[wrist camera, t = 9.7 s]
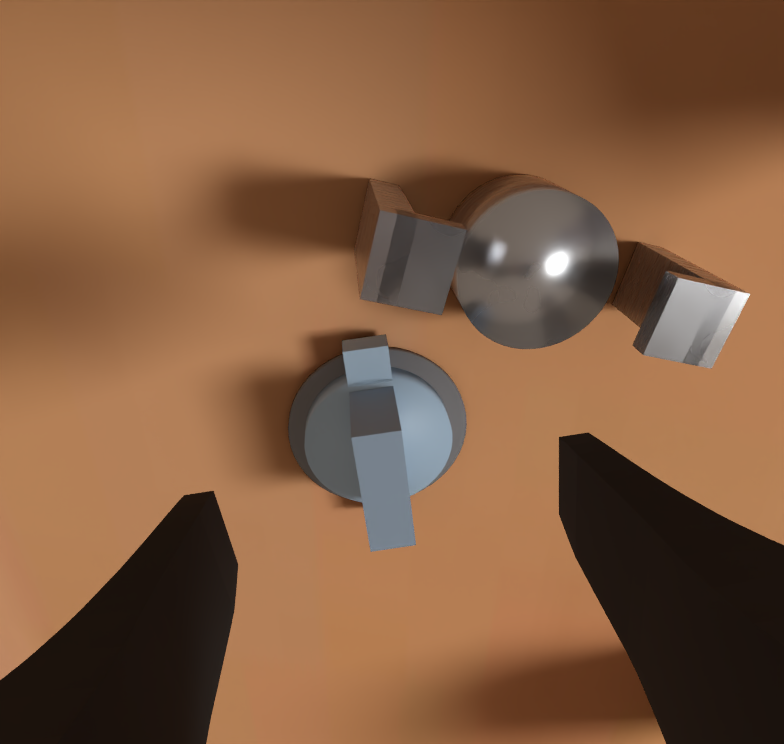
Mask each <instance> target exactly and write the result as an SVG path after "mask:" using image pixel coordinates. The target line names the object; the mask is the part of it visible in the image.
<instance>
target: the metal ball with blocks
mask: <svg viewBox="0 0 784 744" xmlns="http://www.w3.org/2000/svg"><path fill="white" fill-rule="evenodd" d="M354 252H355V261H356V269H357V278H358V286H359V295H360V299H363V300H368V301H373V302H378V303H383V304H388V305H393V306H398V307H403V308H408V309H413V310H418V311H423V312H428V313H433V314H438V315H442V313H443V309H444V306H445V303H446V299H447V296H448V292H449V289H450V286H451V288H452V290H453V292H454V293H455V295H456V297H457V299H458V301H459V303H460V304H461V306H462V308H463V310H464V312H465V314H466V315H467V317H468V318H469V320H470V321H471V323H472V324H473V325H474V326H475V327H476V329H477V330H478V331H479V332H481V333H482V334H483V335H484V336H486V337H487V338H489V339H491V340H492V341H494V342H496V343H499V344H501V345H504V346H508V347H512V348H518V349H536V348H543V347H547V346H551V345H554V344H557V343H560V342H562V341H564V340H566V339H568V338H570V337H572V336H573V335H575V334H576V333H578V332H580V331H581V330H582V329H583V328H585V327H586V326H587V325H588V324H589V323H590V322H591V321H592V320H593V319H594V318H595V317H596V316H597V315H598V313H599V312H600V311H601V310H602V308H603V307H604V305H605V303H606V302H607V300H608V298H609V296H610V294H611V292H612V290H613V287H614V284H615V281H616V277H617V272H618V263H619V255H618V246H617V241H616V237H615V235H614V232H613V229H612V227H611V225H610V224H609V222H608V220H607V219H606V218H605V216H604V215H603V214H602V213H601V212H600V211H599V210H598V209H597V208H596V207H595V206H594V205H593V204H591V203H590V202H588V201H587V200H585V199H583V198H581V197H579V196H577V195H575V194H573V193H571V192H569V191H567V190H565V189H563V188H561V187H559V186H557V185H555V184H553V183H551V182H550V181H548V180H546V179H543V178H540V177H537V176H531V175H520V174H517V175H507V176H503V177H499V178H496V179H494V180H491V181H489V182H487V183H485V184H483V185H481V186H480V187H478V188H477V189H475V190H474V191H473V192H471V193H470V194H469V195H468V196H467V197H466V198H465V199H464V200H463V201H462V202H461V203H460V205H459V206H458V207H457V208H456V210H455V211H454V213H453V215H452V216H451V218H450V220H449V221H448V220H443V219H439V218H435V217H430V216H426V215H421V214H417V213H415V212H414V210H413V209H412V207H411V205H410V203H409V202H408V200H407V198H406V197H405V195H404V193H403V191H402V190H401V188H400V186H399V185H395V184H390V183H386V182H382V181H378V180H373V179H369V183H368V188H367V192H366V197H365V202H364V206H363V211H362V216H361V220H360V225H359V230H358V234H357V239H356V244H355V248H354ZM749 295H750V294H749V293H747V292H745V291H743V290H742V289H740V288H738V287H736V286H734V285H732V284H730V283H728V282H727V281H725V280H723V279H721V278H719V277H717V276H715V275H713V274H711V273H710V272H708V271H706V270H704V269H702V268H700V267H698V266H696V265H695V264H693V263H691V262H689V261H687V260H685V259H683V258H681V257H680V256H678V255H676V254H674V253H672V252H670V251H668V250H666V249H664V248H662V247H657V246H653V245H649V244H645V243H640V242H638V244H637V247H636V249H635V251H634V254H633V256H632V258H631V261H630V263H629V266H628V268H627V270H626V273H625V275H624V278H623V280H622V282H621V285H620V287H619V289H618V292H617V294H616V297H615V299H614V301H613V304H612V305H613V306H615V307H616V308H617V309H618V310H619V311H621V312H622V313H623V314H624V315H625V316H627V317H628V318H629V319H630V320H631V321H633V322H634V323H635V324H636V325H637V326H639V327H640V330H639V332H638V334H637V336H636V339H635V341H634V343H633V346H634V347H635V348H636V349H637V350H638V351H639V352H640V353H641V354H643V355H646V356H651V357H656V358H661V359H666V360H671V361H676V362H681V363H686V364H691V365H696V366H701V367H706V368H712V366H713V364H714V363H715V361H716V359H717V357H718V355H719V353H720V351H721V349H722V347H723V345H724V343H725V341H726V339H727V338H728V336H729V334H730V332H731V330H732V328H733V326H734V324H735V322H736V320H737V318H738V316H739V314H740V313H741V311H742V309H743V307H744V305H745V303H746V301H747V299H748V297H749Z"/></svg>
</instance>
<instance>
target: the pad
mask: <svg viewBox="0 0 784 744" xmlns="http://www.w3.org/2000/svg"><path fill="white" fill-rule="evenodd" d="M388 349H389V357H390V365H391V367H394V368H399V369H403V370H406V371H409V372H411V373H413V374H415V375H417V376H419V377H421V378H422V379H424V380H425V381H426V382H427V383H429V384H430V385H431V386H432V387H433V388H434V389H435V390H436V392H437V393H438V395H439V396H440V397H441V399H442V401H443V403H444V406H445V409H446V412H447V415H448V418H449V421H450V424H451V428H452V448H451V452H450V455H449V458H448V460H447V463H446V465H445V466H444V468H443V469H442V471H441V472H440V474H439V475H438V476H437V477H436V478H435V479H434V480H433V481H432V482H431V483H430V484H429V485H428V486H430V485H431V484H433V483H434V482H435V481H436V480H438V479H439V478H440V477H441V476H442V475H443V474H444V473H445V472H446V471H447V470H448V469H449V468H450V466H451V465H452V464H453V463H454V461H455V459H456V458H457V456H458V454H459V452H460V450H461V447H462V445H463V442H464V438H465V433H466V412H465V407H464V404H463V401H462V398H461V395H460V393H459V391H458V389H457V387H456V385H455V384H454V382H453V381H452V380H451V378H450V377H449V376H448V374H447V373H446V372H444V371H443V370H442V369H441V368H440V367H439V366H438V365H436V364H435V363H434V362H432V361H431V360H429V359H427V358H425V357H423V356H422V355H419V354H417V353H414V352H411V351H408V350H404V349H400V348H393V347H388ZM344 374H346V371H345V365H344V359H343V354H341V355H339V356H337V357H335V358H333V359H331V360H329V361H328V362H326V363H325V364H323V365H322V366H320V367H319V368H318V369H317V370H316V371H314V372H313V373H312V374H311V375H310V376H309V377H308V378H307V380H306V381H305V382H304V383H303V385H302V386H301V388H300V389H299V391H298V393H297V394H296V397H295V399H294V401H293V404H292V408H291V411H290V417H289V426H288V430H289V441H290V445H291V449H292V452H293V454H294V457H295V459H296V460H297V462H298V464H299V466H300V467H301V468H302V470H303V471H304V472H305V473H306V474H307V475H308V476H309V477H310V478H311V479H312V480H313V481H314V482H315V483H317V484H318V485H319V486H320V487H322V488H324V489H326V490H327V491H329V492H331V493H333V494H336V493H334V492H333V491H331V490H329V489H328V488H327V487H326V486H324V485H323V484H322V483H321V482H320V481H319V480H318V479H317V477H316V476H315V475H314V473H313V472H312V470H311V468H310V466H309V464H308V461H307V458H306V454H305V447H304V446H305V428H306V420H307V416H308V413H309V410H310V407H311V405H312V403H313V401H314V400H315V398H316V397H317V396H318V394H319V393H320V392H321V391H322V390H323V389H324V388H325V387H326V386H327V385H328V384H329V383H331V382H332V381H333V380H335V379H336V378H338V377H340V376H342V375H344ZM428 486H426V487H428ZM426 487H425V488H426ZM425 488H423V489H425ZM423 489H422V490H423ZM420 491H421V490H420ZM336 495H338V494H336ZM338 496H340V495H338ZM341 497H342V496H341Z"/></svg>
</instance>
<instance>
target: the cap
mask: <svg viewBox="0 0 784 744" xmlns="http://www.w3.org/2000/svg"><path fill="white" fill-rule="evenodd" d="M342 353H343V359H344V365H345V371H346V374H344V375H342V376H340V377H338V378H336V379H335V380H333V381H332V382H331V383H329V384H328V385H327V386H326V387H325V388H324V389H323V390H322V391H321V392H320V393H319V394H318V396H317V397H316V398H315V400H314V401H313V403H312V405H311V407H310V410H309V413H308V416H307V420H306V428H305V446H304V447H305V454H306V458H307V461H308V464H309V466H310V468H311V470H312V472H313V473H314V475H315V476H316V477H317V479H318V480H319V481H320V482H321V483H322V484H323V485H324V486H326V487H327V488H328V489H329V490H331V491H333V492H334V493H336V494H338V495H340V496H342V497H344V498H347V499H350V500H353V501H358V502H362V503H363V509H364V515H365V521H366V527H367V533H368V538H369V544H370V550H371V552H372V551H379V550H385V549H392V548H399V547H406V546H412V545H416V542H415V534H414V526H413V518H412V510H411V502H410V496H411V495H413V494H415V493H417V492H419V491H420V490H422V489H423V488H425V487H426V486H428V485H429V484H430V483H431V482H432V481H433V480H434V479H435V478H436V477H437V476H438V475H439V474H440V472H441V471H442V469H443V468H444V466H445V465H446V463H447V460H448V458H449V455H450V452H451V448H452V428H451V424H450V421H449V418H448V415H447V412H446V409H445V406H444V403H443V401H442V399H441V397H440V396H439V395H438V393H437V392H436V390H435V389H434V388H433V387H432V386H431V385H430V384H429V383H427V382H426V381H425V380H424V379H422V378H421V377H419V376H417V375H415V374H413V373H411V372H409V371H406V370H403V369H399V368H394V367H391V365H390V357H389V349H388V343H387V338H386V335H378V336H371V337H364V338H357V339H350V340H342Z"/></svg>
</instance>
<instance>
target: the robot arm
mask: <svg viewBox="0 0 784 744" xmlns="http://www.w3.org/2000/svg"><path fill="white" fill-rule="evenodd" d="M559 515H560V518H561V521H562V523H563V526H564V529H565V531H566V534H567V537H568V539H569V542H570V544H571V547H572V549H573V552H574V554H575V557H576V559H577V561H578V563H579V565H580V567H581V568H582V570H583V572H584V574H585V576H586V578H587V580H588V582H589V583H590V585H591V587H592V589H593V591H594V593H595V595H596V596H597V598H598V600H599V602H600V604H601V606H602V608H603V609H604V611H605V613H606V615H607V617H608V619H609V620H610V622H611V624H612V626H613V628H614V630H615V632H616V633H617V635H618V637H619V639H620V641H621V643H622V644H623V646H624V648H625V650H626V652H627V654H628V656H629V658H630V660H631V662H632V664H633V666H634V668H635V670H636V672H637V674H638V677H639V679H640V681H641V684H642V686H643V688H644V691H645V693H646V696H647V698H648V700H649V703H650V705H651V707H652V710H653V712H654V715H655V717H656V719H657V722H658V724H659V727H660V729H661V732H662V734H663V737H664V739H665V741H666V744H784V545H782V544H780V543H777V542H775V541H773V540H770V539H768V538H766V537H764V536H762V535H760V534H758V533H756V532H753V531H751V530H749V529H747V528H745V527H743V526H741V525H739V524H737V523H735V522H733V521H731V520H729V519H727V518H725V517H723V516H721V515H719V514H717V513H715V512H714V511H712V510H710V509H708V508H706V507H705V506H703V505H701V504H699V503H698V502H696V501H694V500H692V499H690V498H689V497H687V496H685V495H684V494H682V493H680V492H679V491H677V490H675V489H674V488H672V487H670V486H669V485H667V484H665V483H664V482H662V481H661V480H659V479H657V478H656V477H654V476H653V475H651V474H650V473H648V472H647V471H645V470H643V469H642V468H640V467H639V466H637V465H636V464H634V463H633V462H631V461H630V460H628V459H627V458H625V457H624V456H622V455H621V454H620V453H618V452H617V451H615V450H614V449H612V448H611V447H609V446H608V445H606V444H605V443H603V442H602V441H600V440H599V439H597V438H596V437H594V436H593V435H591V434H590V433H583V434H576V435H570V436H563V437H559ZM237 572H238V563H237V560H236V557H235V554H234V551H233V548H232V545H231V542H230V539H229V536H228V533H227V530H226V527H225V524H224V521H223V518H222V515H221V512H220V509H219V506H218V503H217V500H216V497H215V494H214V491H209V492H203V493H196V494H190V495H184V496H183V497H182V498H181V499H180V500H179V502H178V503H177V504H176V505H175V506H174V507H173V508H172V510H171V511H170V512H169V513H168V514H167V515H166V517H165V518H164V519H163V520H162V521H161V522H160V524H159V525H158V526H157V527H156V528H155V530H154V531H153V532H152V533H151V534H150V535H149V537H148V538H147V539H146V540H145V541H144V542H143V543H142V545H141V546H140V547H139V548H138V549H137V550H136V551H135V553H134V554H133V555H132V556H131V557H130V558H129V559H128V561H127V562H126V563H125V564H124V565H123V566H122V567H121V569H120V570H119V571H118V572H117V573H116V574H115V575H114V576H113V577H112V578H111V579H110V580H109V581H108V582H107V583H106V584H105V585H104V586H103V587H102V588H101V590H100V591H99V592H98V593H97V594H96V595H95V596H94V597H93V598H92V599H91V600H90V601H89V602H88V603H87V604H86V605H85V606H84V607H83V608H82V609H81V610H80V611H79V612H78V613H77V614H76V615H75V616H74V617H73V618H72V619H71V620H70V621H69V622H68V623H67V624H66V625H65V626H64V627H63V628H61V629H60V630H59V631H58V632H57V633H56V634H55V635H54V636H53V637H51V638H50V639H49V640H48V641H47V642H46V643H45V644H44V645H43V646H41V647H40V648H39V649H38V650H37V651H36V652H35V653H33V654H32V655H31V656H30V657H29V658H28V659H26V660H25V661H24V662H23V663H22V664H20V665H19V666H18V667H17V668H15V669H14V670H13V671H12V672H10V673H9V674H8V675H7V676H5V677H4V678H3V679H2V680H0V744H206V741H207V736H208V730H209V725H210V719H211V715H212V710H213V706H214V701H215V697H216V692H217V688H218V683H219V679H220V674H221V670H222V665H223V661H224V656H225V652H226V647H227V642H228V638H229V633H230V628H231V624H232V619H233V614H234V607H235V597H236V586H237Z"/></svg>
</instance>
